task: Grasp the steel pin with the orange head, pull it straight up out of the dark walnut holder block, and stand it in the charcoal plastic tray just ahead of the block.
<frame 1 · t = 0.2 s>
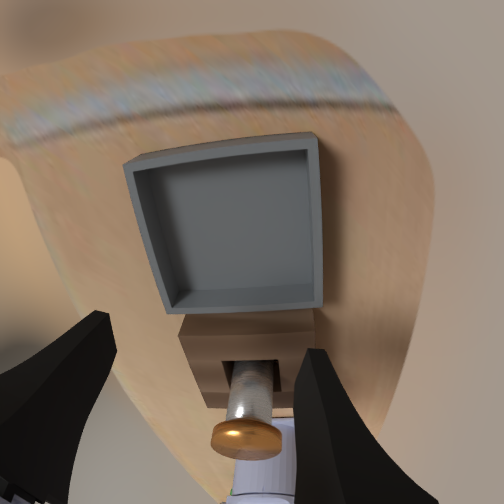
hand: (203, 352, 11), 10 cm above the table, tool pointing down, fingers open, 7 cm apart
pin: (251, 393, 20), in the holder block
tray: (234, 221, 19), on the table
holder block: (255, 348, 24), on the table
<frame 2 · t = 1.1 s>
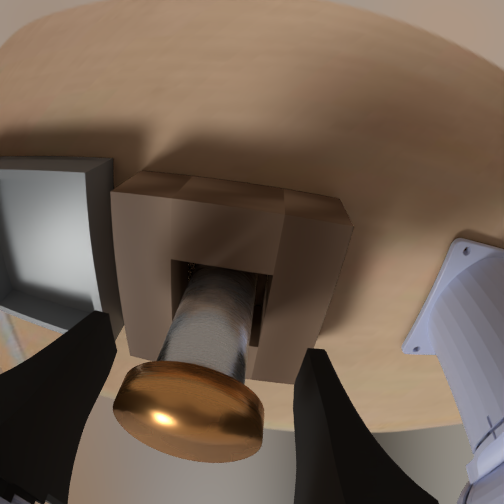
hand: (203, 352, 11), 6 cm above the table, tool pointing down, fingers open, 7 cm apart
pin: (211, 331, 12), in the holder block
tray: (48, 238, 16), on the table
holder block: (227, 269, 15), on the table
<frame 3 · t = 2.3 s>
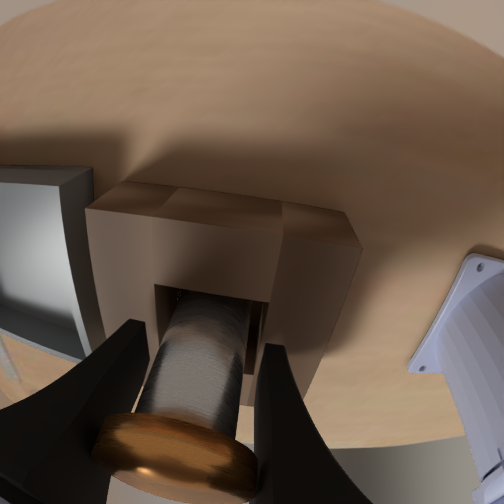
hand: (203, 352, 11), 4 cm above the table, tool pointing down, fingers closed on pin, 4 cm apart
pin: (200, 364, 10), in the holder block, touching gripper
tray: (29, 252, 14), on the table
holder block: (220, 289, 14), on the table
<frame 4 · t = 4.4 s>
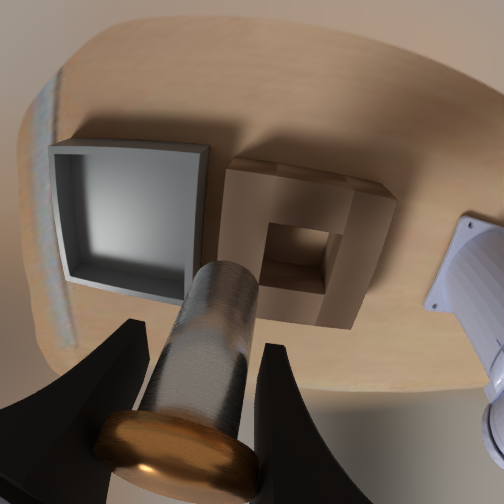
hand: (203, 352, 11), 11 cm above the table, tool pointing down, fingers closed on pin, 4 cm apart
pin: (204, 364, 10), point 11 cm above the table, touching gripper
tray: (132, 212, 20), on the table
holder block: (296, 237, 20), on the table
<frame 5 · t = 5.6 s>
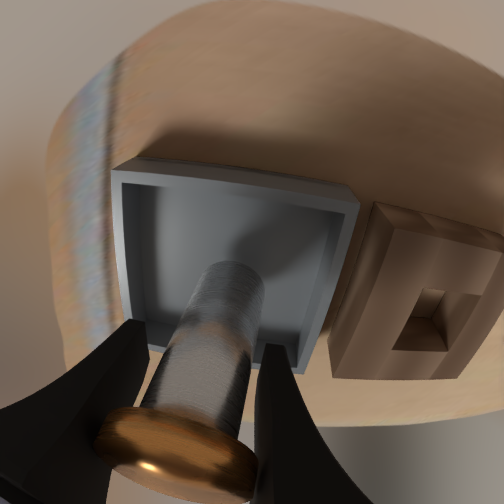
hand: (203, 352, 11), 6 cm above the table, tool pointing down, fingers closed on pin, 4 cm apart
pin: (207, 363, 10), point 7 cm above the table, touching gripper
tray: (227, 262, 16), on the table
holder block: (419, 289, 16), on the table
when the fingers open (6 cm above the table, at t = 6.5 s): pin drops 1 cm, resting on tray.
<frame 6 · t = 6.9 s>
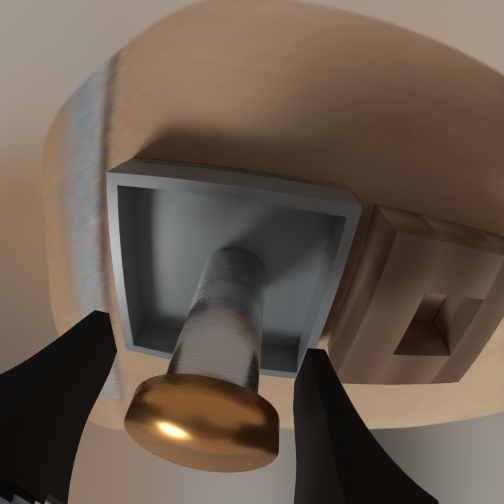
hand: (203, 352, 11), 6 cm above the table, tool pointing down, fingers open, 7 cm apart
pin: (221, 339, 11), in the tray, point 5 cm above the table
tray: (226, 266, 16), on the table
holder block: (420, 293, 16), on the table
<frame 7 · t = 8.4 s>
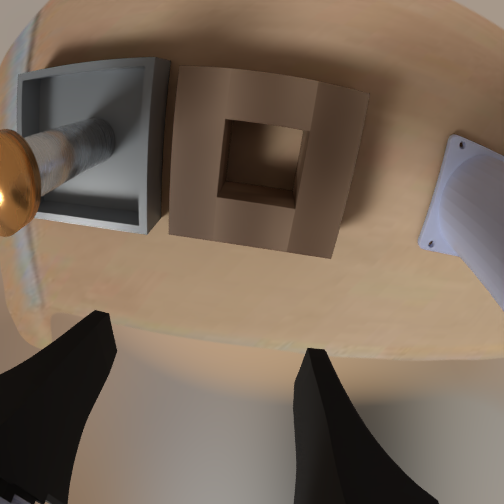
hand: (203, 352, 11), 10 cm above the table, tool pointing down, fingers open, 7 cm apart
pin: (52, 158, 13), in the tray, point 5 cm above the table
tray: (93, 139, 17), on the table
holder block: (263, 153, 17), on the table
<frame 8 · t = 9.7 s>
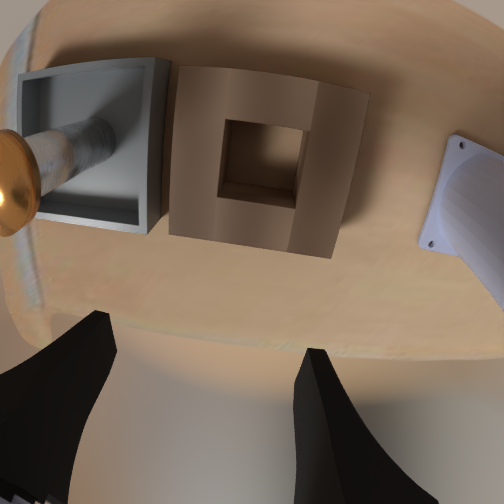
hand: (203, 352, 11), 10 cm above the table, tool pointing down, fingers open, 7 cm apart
pin: (52, 158, 13), in the tray, point 5 cm above the table
tray: (93, 139, 17), on the table
holder block: (263, 153, 17), on the table
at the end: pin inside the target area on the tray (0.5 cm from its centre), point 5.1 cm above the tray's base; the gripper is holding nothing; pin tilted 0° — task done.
